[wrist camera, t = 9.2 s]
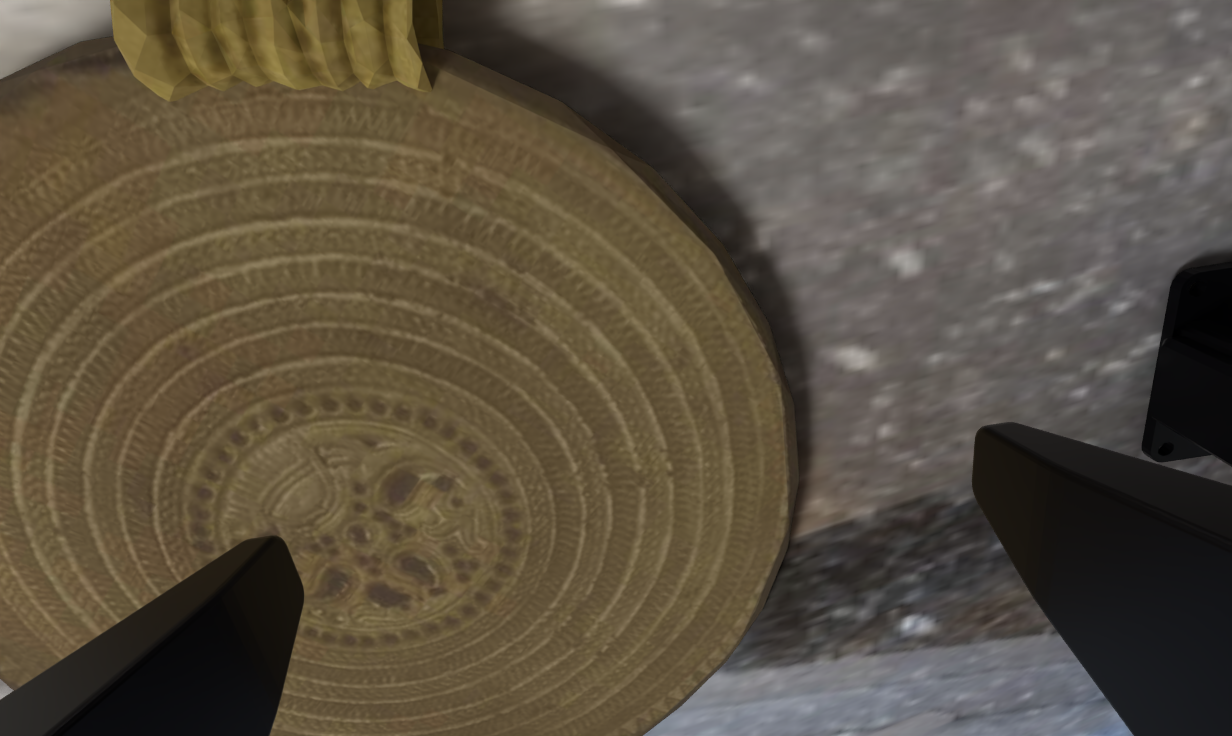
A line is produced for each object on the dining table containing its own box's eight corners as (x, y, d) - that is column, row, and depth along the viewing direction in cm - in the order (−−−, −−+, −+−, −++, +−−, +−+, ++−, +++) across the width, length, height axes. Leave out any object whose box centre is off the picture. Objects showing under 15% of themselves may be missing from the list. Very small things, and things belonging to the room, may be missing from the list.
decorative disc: (46, 877, 27) (-605, -17, 14) (99, 791, 30) (-391, -9, 16) (790, 807, 27) (864, -110, 14) (769, 730, 30) (813, -87, 17)
